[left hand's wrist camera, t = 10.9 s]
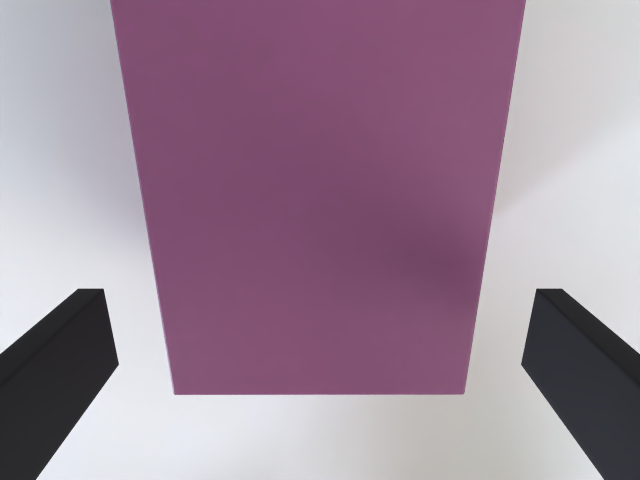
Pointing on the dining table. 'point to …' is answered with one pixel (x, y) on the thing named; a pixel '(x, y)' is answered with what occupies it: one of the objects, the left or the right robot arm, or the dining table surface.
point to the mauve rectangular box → (318, 185)
